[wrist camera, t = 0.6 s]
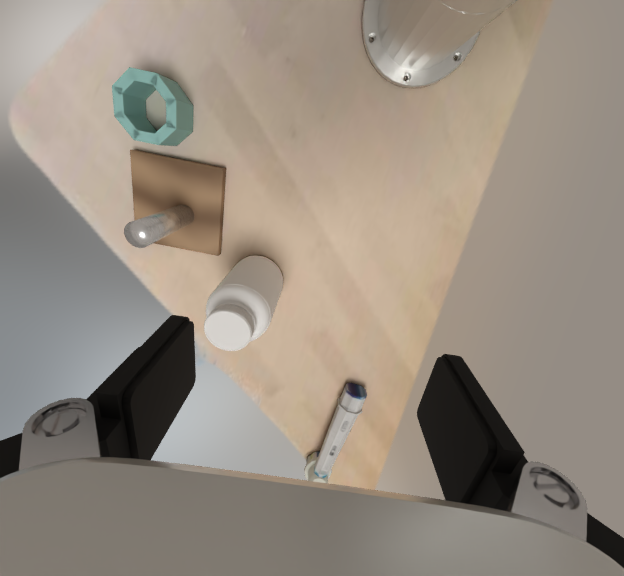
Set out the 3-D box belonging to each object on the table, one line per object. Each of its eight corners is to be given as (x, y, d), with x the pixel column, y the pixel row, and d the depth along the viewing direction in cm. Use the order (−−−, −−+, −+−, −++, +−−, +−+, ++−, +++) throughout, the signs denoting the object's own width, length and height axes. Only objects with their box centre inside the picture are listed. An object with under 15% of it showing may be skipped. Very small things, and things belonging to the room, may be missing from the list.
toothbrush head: (372, 401, 50) (326, 505, 57) (366, 378, 56) (325, 474, 63) (343, 393, 50) (300, 499, 57) (340, 371, 56) (301, 468, 63)
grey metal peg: (174, 202, 40) (123, 219, 30) (194, 206, 40) (150, 224, 30) (174, 222, 41) (125, 244, 31) (194, 226, 42) (151, 250, 32)
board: (135, 149, 39) (130, 149, 38) (226, 168, 39) (223, 168, 38) (140, 237, 44) (136, 239, 43) (220, 253, 44) (218, 255, 43)
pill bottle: (222, 270, 45) (176, 320, 32) (264, 244, 43) (235, 286, 30) (252, 309, 48) (222, 371, 34) (293, 287, 46) (279, 343, 32)
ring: (135, 73, 35) (110, 63, 31) (193, 86, 36) (175, 77, 32) (138, 138, 38) (116, 136, 34) (192, 149, 39) (176, 148, 34)
